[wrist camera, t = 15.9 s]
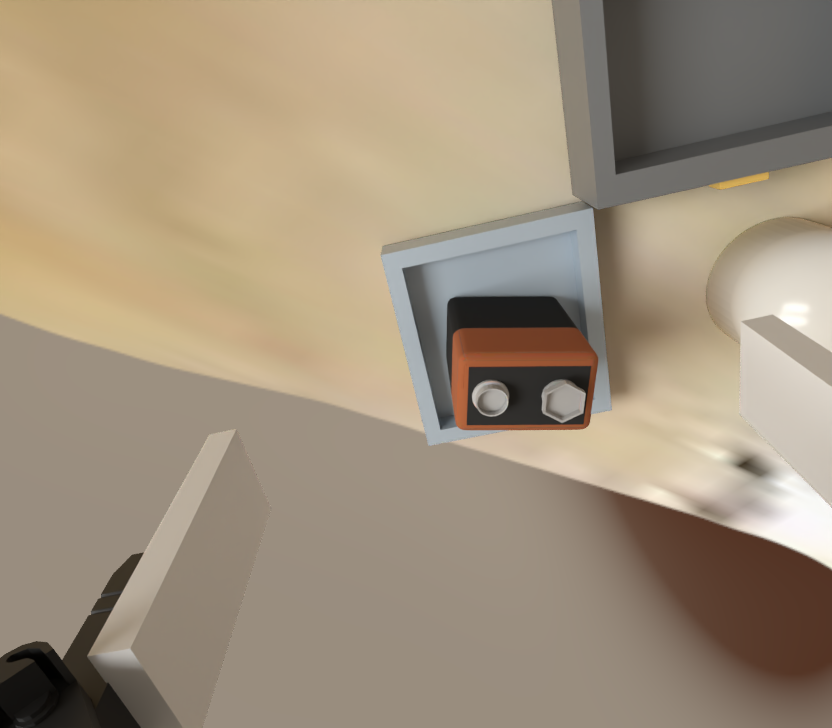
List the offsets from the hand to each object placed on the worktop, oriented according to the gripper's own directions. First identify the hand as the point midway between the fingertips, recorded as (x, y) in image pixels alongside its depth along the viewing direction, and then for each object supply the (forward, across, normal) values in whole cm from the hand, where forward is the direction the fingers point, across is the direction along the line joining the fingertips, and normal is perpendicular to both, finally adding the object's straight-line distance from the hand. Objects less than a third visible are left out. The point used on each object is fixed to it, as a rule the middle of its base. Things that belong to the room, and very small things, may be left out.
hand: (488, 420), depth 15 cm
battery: (+21, +2, -7) cm, 22 cm away
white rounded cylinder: (+21, +19, -8) cm, 30 cm away
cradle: (+22, +15, +6) cm, 27 cm away
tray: (+21, +2, -7) cm, 22 cm away
